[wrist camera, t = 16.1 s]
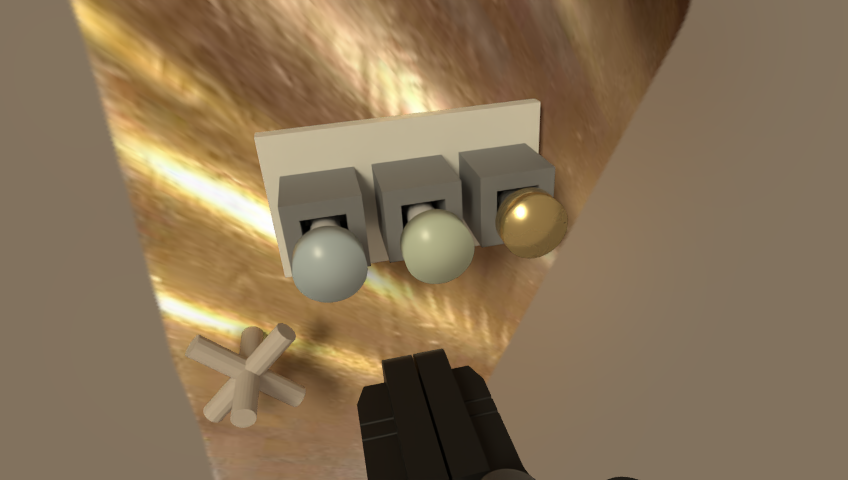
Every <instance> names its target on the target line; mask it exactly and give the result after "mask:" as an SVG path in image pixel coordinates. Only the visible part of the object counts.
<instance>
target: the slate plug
mask: <svg viewBox="0 0 848 480" xmlns="http://www.w3.org/2000/svg"><path fill="white" fill-rule="evenodd" d="M309 225H310V231H308V232H307V233H305V234H304V235H303V236H302V237H301V238H300V239H299V240H298V242H297V243H296V245H295V247H294V250H293V255H292V274H293V280H294V282H295V285H296V286H297V288H298V289H299V290H300V291H301V293H303V294H304V295H305V296H307V297H308V298H310V299H312V300H315V301H319V302H337V301H341V300H344V299H346V298H349V297H350V296H352V295H353V294H355V293H356V292H357V291H358V290H359V289H360V288H361V286H362V285H363V283H364V282H365V279H366V276H367V262H366V258H365V253H364V249H363V246H362V244H361V242H360V240H359V239H358V238H357V236H356V235H355V234H353V233H352V232H351V231H349V230H347V229H345V228H342V227H341V225H340V220H339V215H335V216H329V217H322V218H315V219H309Z"/></svg>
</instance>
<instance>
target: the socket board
mask: <svg viewBox="0 0 848 480" xmlns="http://www.w3.org/2000/svg"><path fill="white" fill-rule="evenodd" d="M539 127H540V101H538V100H536V99H527V100H519V101H510V102H502V103H494V104H486V105H478V106H470V107H462V108H454V109H445V110H437V111H429V112H421V113H413V114H405V115H397V116H389V117H380V118H372V119H364V120H356V121H348V122H340V123H332V124H323V125H315V126H307V127H299V128H291V129H283V130H275V131H267V132H258V133H255V136H254V140H255V144H256V149H257V153H258V158H259V162H260V166H261V171H262V175H263V180H264V184H265V189H266V193H267V198H268V202H269V207H270V211H271V216H272V220H273V225H274V229H275V234H276V238H277V243H278V247H279V252H280V256H281V261H282V265H283V269H284V274H285V278H286V277H293V274H292V255H293V250H294V247H295V245H296V243H297V242H298V240H299V239H300V238H301V237H302V236H303V235H304V234H305V233H307V232H308V231H310V225H309V219H315V218H322V217H329V216H335V215H339V220H340V225H341V227H342V228H345V229H347V230H349V231H351V232H352V233H353V234H355V235H356V236H357V238H358V239H359V240H360V242H361V244H362V246H363V249H364V253H365V258H366V262H367V266H371V263H376V262H382V261H388V260H389V261H390V263H391V262H397V261H403V260H404V258H403V255H402V252H401V249H400V237H401V233H402V231H403V229H404V227H405V226H406V224H407V223H408V222H407V219H406V217H405V215H404V212H403V210H402V208H401V206H402V205H409V204H415V203H422V202H429V201H430V202H431V203H432V205H433V207H434V209H443V210H447V211H450V212H452V213H454V214H455V215H457V216H458V217H459V218H460V219H461V220H462V222H463V223H464V225H465V226H466V228H467V229H468V231H469V233H470V234H471V236H472V238H473V241H474V246H479V245H480V246H481V247H487V246H493V245H499V244H505V243H504V242H503V241H502V239H501V238H500V237H499V235H498V233H497V231H496V227H495V218H496V214H497V211H498V208H497V191H502V190H509V189H515V188H520V189H523V188H529V187H535V188H540V189H543V190H545V191H546V192H548V193H549V194H550V195H551V196H552V197H553V198H554V181H555V167H554V166H553V165H552V164H551V163H549V162H548V161H547V160H546V159H544V158H543V157H542V156H541V155H539V154H538V153H539Z"/></svg>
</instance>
